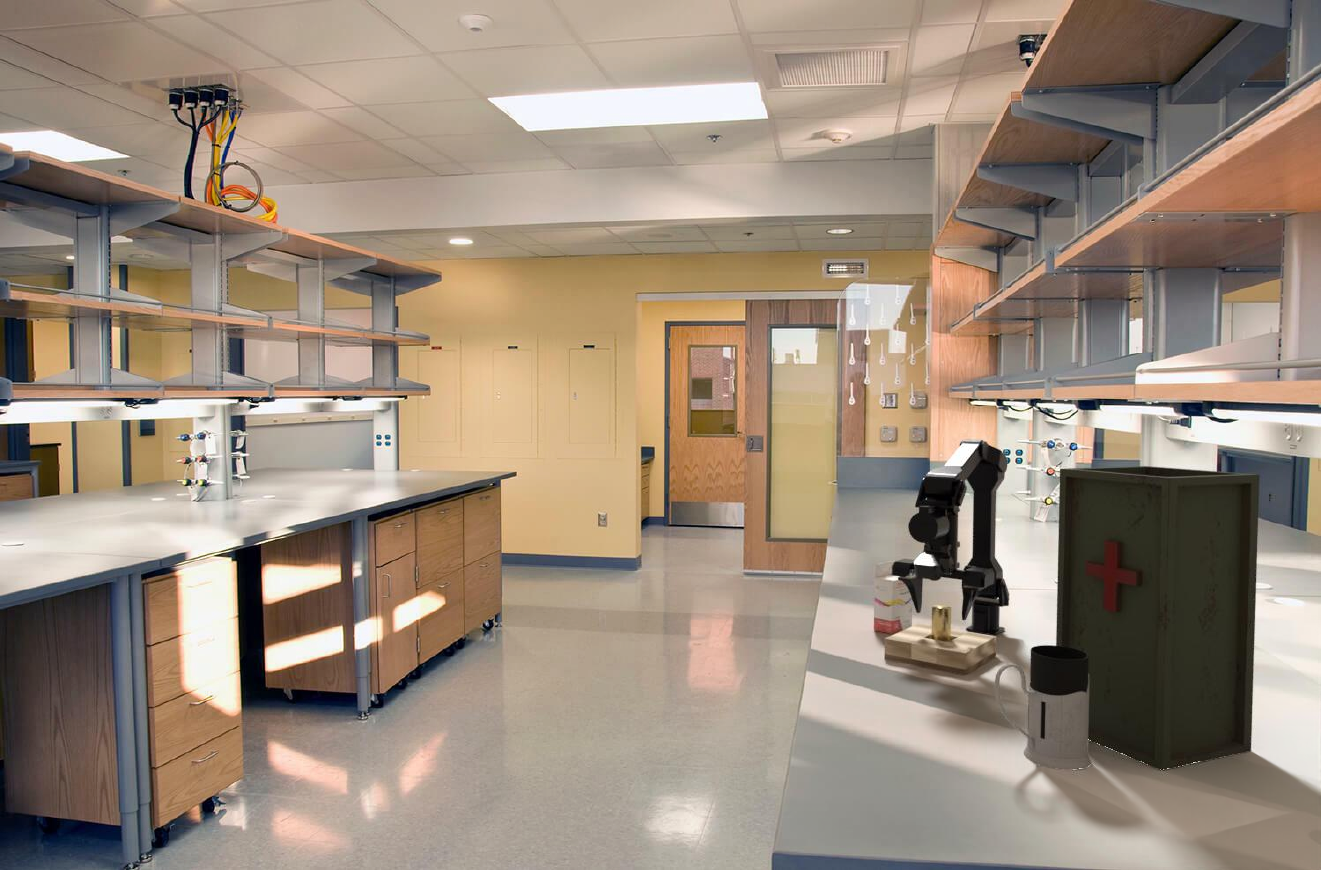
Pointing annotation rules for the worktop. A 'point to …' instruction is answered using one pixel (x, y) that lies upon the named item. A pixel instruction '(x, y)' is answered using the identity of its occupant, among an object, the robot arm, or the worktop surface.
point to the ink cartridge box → (891, 601)
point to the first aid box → (1161, 607)
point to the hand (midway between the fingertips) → (940, 616)
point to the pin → (941, 623)
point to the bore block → (941, 649)
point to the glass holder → (1055, 706)
